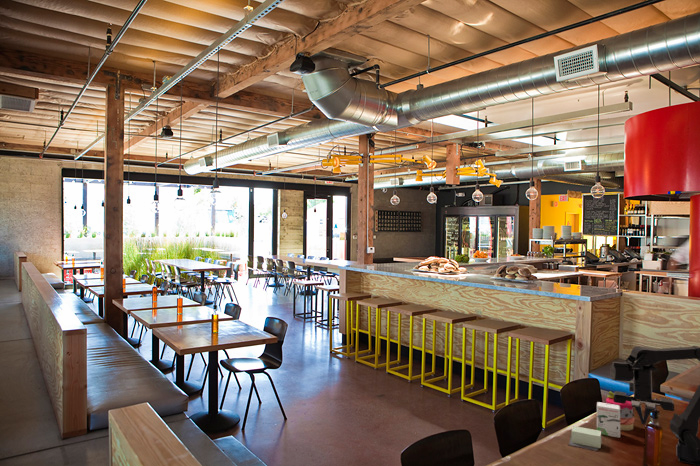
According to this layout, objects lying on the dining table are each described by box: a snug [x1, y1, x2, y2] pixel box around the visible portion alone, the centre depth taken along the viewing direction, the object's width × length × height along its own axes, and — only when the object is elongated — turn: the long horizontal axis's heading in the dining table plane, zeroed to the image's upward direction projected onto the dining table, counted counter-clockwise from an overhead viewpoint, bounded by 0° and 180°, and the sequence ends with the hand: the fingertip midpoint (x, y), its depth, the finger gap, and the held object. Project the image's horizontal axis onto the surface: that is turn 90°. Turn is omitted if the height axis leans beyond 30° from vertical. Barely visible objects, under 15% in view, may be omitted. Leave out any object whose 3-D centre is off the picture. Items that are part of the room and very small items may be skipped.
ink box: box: [596, 401, 621, 438], centre depth 190 cm, size 9×5×12 cm, turn 61°
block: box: [571, 425, 602, 449], centre depth 181 cm, size 4×6×10 cm
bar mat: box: [568, 434, 599, 452], centre depth 181 cm, size 10×11×1 cm
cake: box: [605, 391, 635, 431], centre depth 198 cm, size 10×11×15 cm
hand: (643, 424), depth 169 cm, fingers closed
